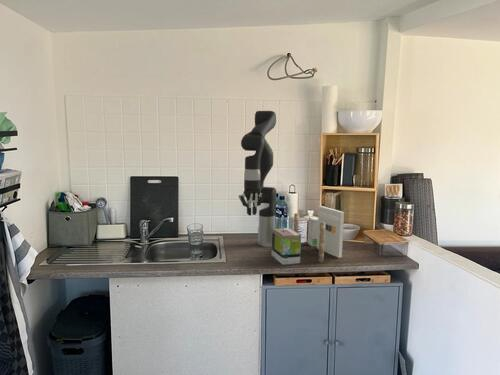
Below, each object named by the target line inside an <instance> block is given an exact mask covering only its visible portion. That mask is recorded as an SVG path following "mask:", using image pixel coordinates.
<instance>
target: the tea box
mask: <svg viewBox="0 0 500 375" xmlns="http://www.w3.org/2000/svg"><path fill="white" fill-rule="evenodd" d="M301 243H302V234H301V233H300V232H298V233H297V232H296V231H294V229H292V228H290V227H282V228H281V227H279V228H275V229H272V246H271V256H272V257H273V258H274V259H275V260H276V261H278V263H280V264H281V265H295V264H300V263H301V252H302V251H301V250H302V249H301V248H302V247H301V246H302V244H301Z"/></svg>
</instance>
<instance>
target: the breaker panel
mask: <svg viewBox="0 0 500 375" xmlns="http://www.w3.org/2000/svg"><path fill="white" fill-rule="evenodd" d="M317 209H318V212H317V215H318V216H317V217H318V232H317V246H316V249H318V250H319V240H320V222H324V223H325V243H324V253H327V254H329V255H331V256H333V257H335V258H338V259H340V258H343V240H344V239H343V238H344V220H345V212H344V211H341V210H338V209H334V208H330V207H327V206H323V205H318V208H317Z"/></svg>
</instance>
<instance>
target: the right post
mask: <svg viewBox="0 0 500 375" xmlns="http://www.w3.org/2000/svg"><path fill="white" fill-rule="evenodd" d="M324 243H325V223H324V222H320V240H319V249H318V263H324V262H325V252H324Z"/></svg>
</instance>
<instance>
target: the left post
mask: <svg viewBox="0 0 500 375" xmlns="http://www.w3.org/2000/svg"><path fill="white" fill-rule="evenodd" d="M293 217H294V218H293V219H294V220H293V230H294V231H296V232H297V233H299V231H300V230H299V228H300V227H299V224H300V223H299V222H300V214H299V213H297V212H296V213H294V215H293Z"/></svg>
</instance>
